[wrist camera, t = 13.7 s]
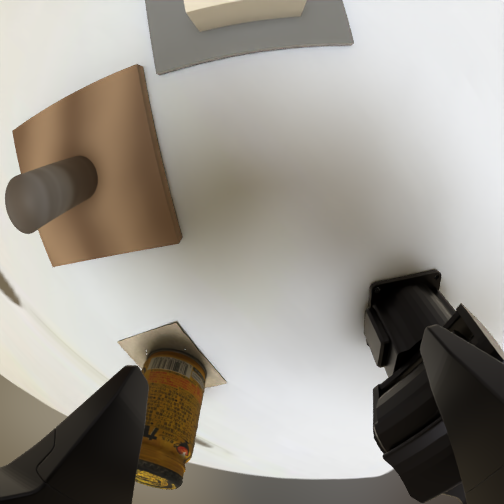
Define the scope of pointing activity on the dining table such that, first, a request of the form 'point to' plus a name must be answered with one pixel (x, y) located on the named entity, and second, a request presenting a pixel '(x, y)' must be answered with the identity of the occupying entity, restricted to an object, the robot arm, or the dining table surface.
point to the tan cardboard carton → (239, 11)
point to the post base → (118, 165)
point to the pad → (240, 33)
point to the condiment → (169, 401)
